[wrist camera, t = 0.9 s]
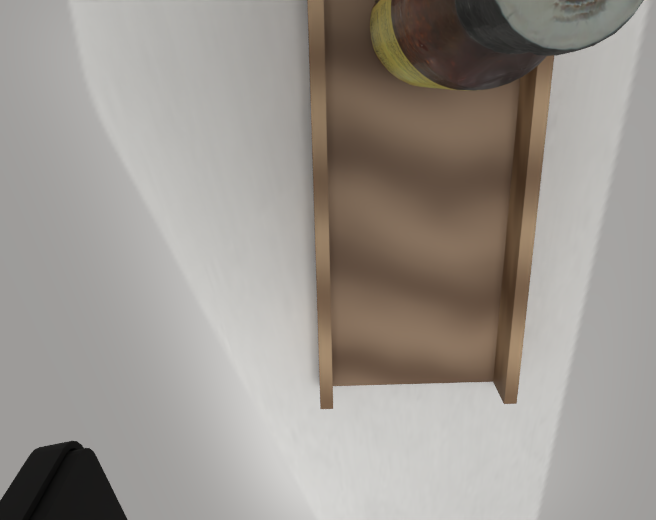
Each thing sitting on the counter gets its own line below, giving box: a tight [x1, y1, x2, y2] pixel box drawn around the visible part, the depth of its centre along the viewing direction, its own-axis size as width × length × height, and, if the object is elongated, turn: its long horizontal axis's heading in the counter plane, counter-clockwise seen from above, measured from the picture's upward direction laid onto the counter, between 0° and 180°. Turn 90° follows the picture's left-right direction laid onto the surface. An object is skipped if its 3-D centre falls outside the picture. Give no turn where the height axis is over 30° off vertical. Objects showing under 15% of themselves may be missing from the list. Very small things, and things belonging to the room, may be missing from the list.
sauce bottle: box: [370, 0, 643, 91], centre depth 23 cm, size 6×6×20 cm
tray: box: [307, 0, 554, 409], centre depth 35 cm, size 30×13×3 cm, turn 1°
